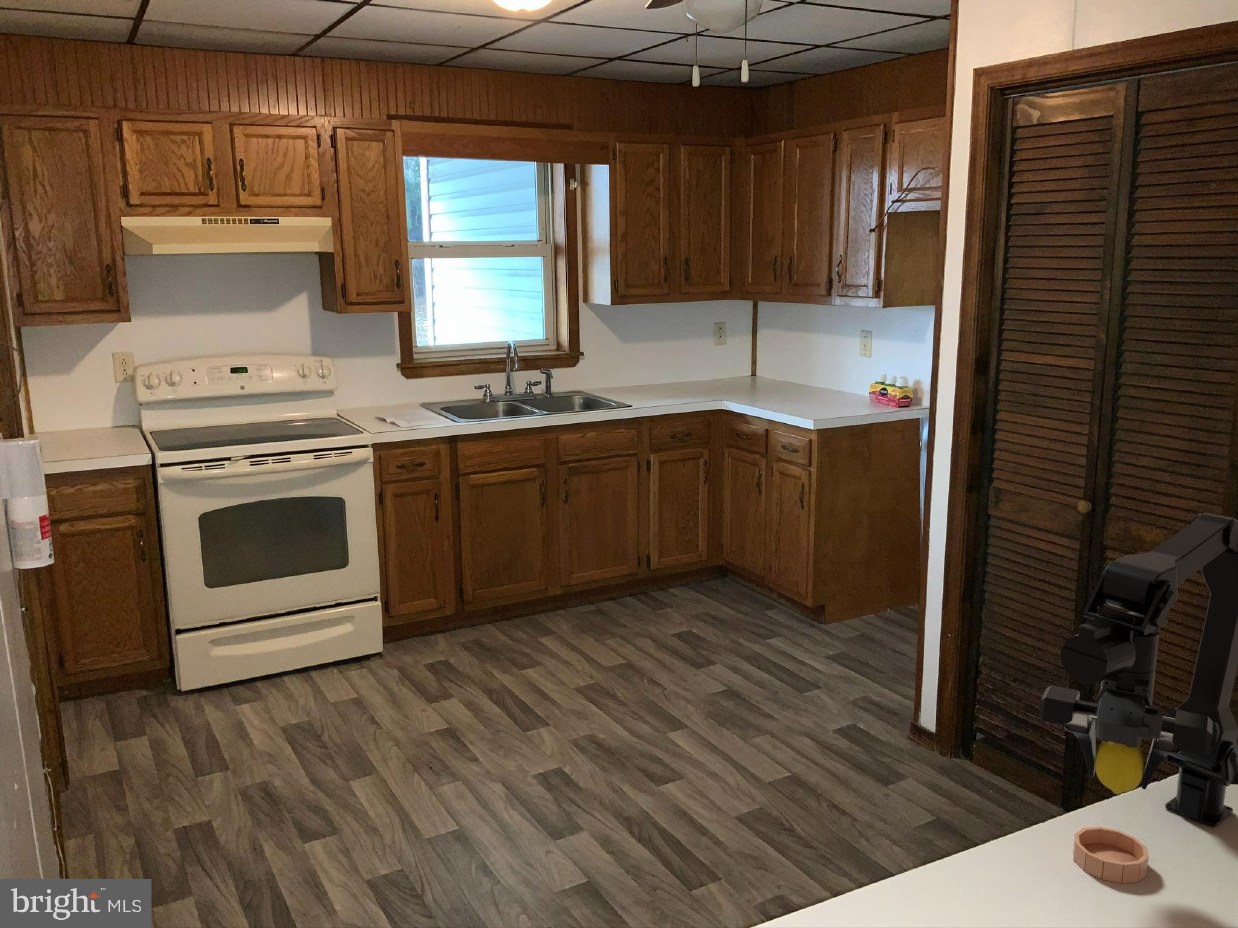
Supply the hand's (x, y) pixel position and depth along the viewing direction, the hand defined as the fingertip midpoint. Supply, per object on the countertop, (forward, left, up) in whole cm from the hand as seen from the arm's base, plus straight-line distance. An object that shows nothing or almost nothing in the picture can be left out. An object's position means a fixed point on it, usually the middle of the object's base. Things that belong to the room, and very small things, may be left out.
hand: (1117, 781), depth 125 cm
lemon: (0, 0, -2) cm, 2 cm away
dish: (0, 0, -11) cm, 11 cm away
